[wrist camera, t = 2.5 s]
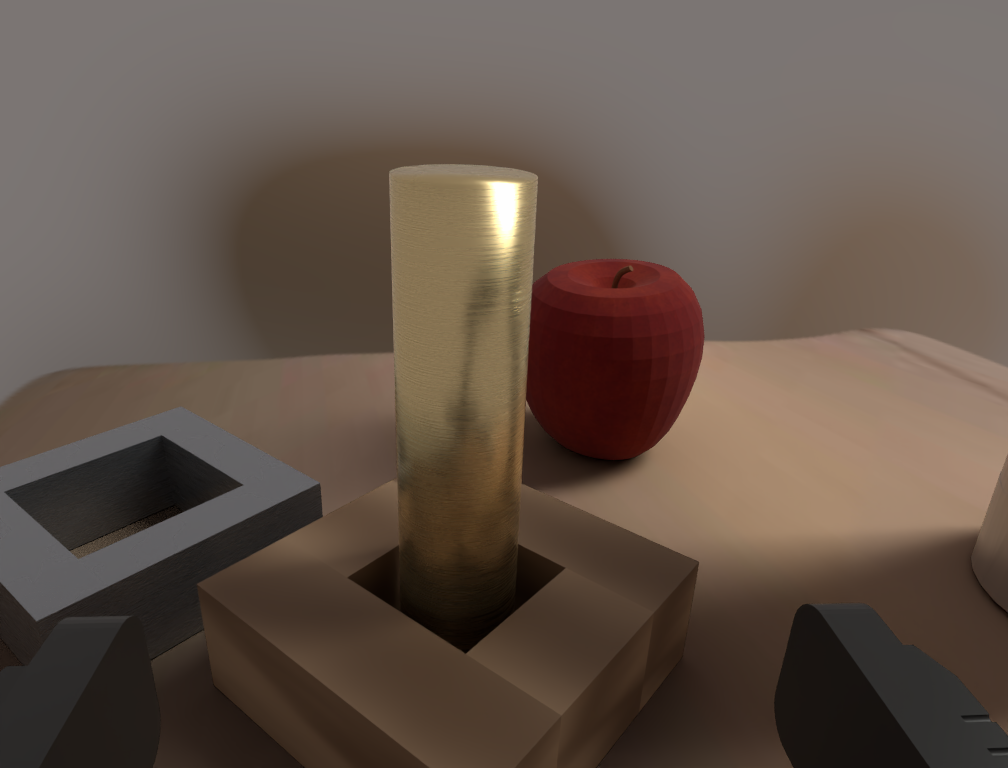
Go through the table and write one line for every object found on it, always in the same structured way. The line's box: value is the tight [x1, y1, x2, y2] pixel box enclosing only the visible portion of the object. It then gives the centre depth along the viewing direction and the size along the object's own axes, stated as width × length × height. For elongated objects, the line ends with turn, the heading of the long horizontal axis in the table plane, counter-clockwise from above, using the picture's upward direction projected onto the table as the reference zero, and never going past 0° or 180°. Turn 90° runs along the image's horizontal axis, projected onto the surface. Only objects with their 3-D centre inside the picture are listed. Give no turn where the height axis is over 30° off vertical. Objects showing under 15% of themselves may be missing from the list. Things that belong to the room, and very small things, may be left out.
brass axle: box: [389, 164, 538, 654], centre depth 21 cm, size 4×4×16 cm
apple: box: [526, 259, 704, 460], centre depth 37 cm, size 10×10×10 cm
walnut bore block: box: [197, 478, 699, 768], centre depth 23 cm, size 11×11×4 cm
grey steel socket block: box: [0, 407, 323, 666], centre depth 28 cm, size 10×10×4 cm
